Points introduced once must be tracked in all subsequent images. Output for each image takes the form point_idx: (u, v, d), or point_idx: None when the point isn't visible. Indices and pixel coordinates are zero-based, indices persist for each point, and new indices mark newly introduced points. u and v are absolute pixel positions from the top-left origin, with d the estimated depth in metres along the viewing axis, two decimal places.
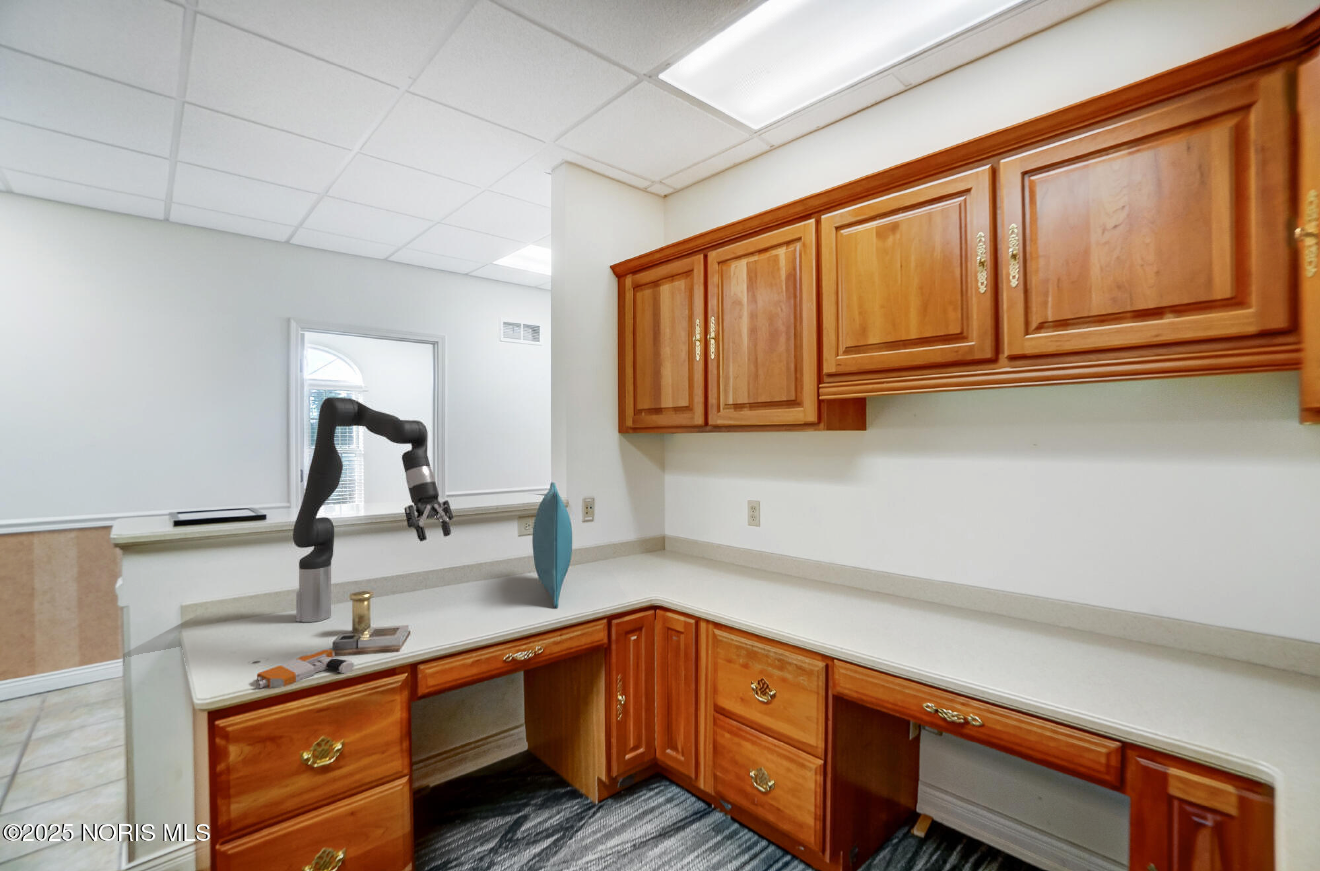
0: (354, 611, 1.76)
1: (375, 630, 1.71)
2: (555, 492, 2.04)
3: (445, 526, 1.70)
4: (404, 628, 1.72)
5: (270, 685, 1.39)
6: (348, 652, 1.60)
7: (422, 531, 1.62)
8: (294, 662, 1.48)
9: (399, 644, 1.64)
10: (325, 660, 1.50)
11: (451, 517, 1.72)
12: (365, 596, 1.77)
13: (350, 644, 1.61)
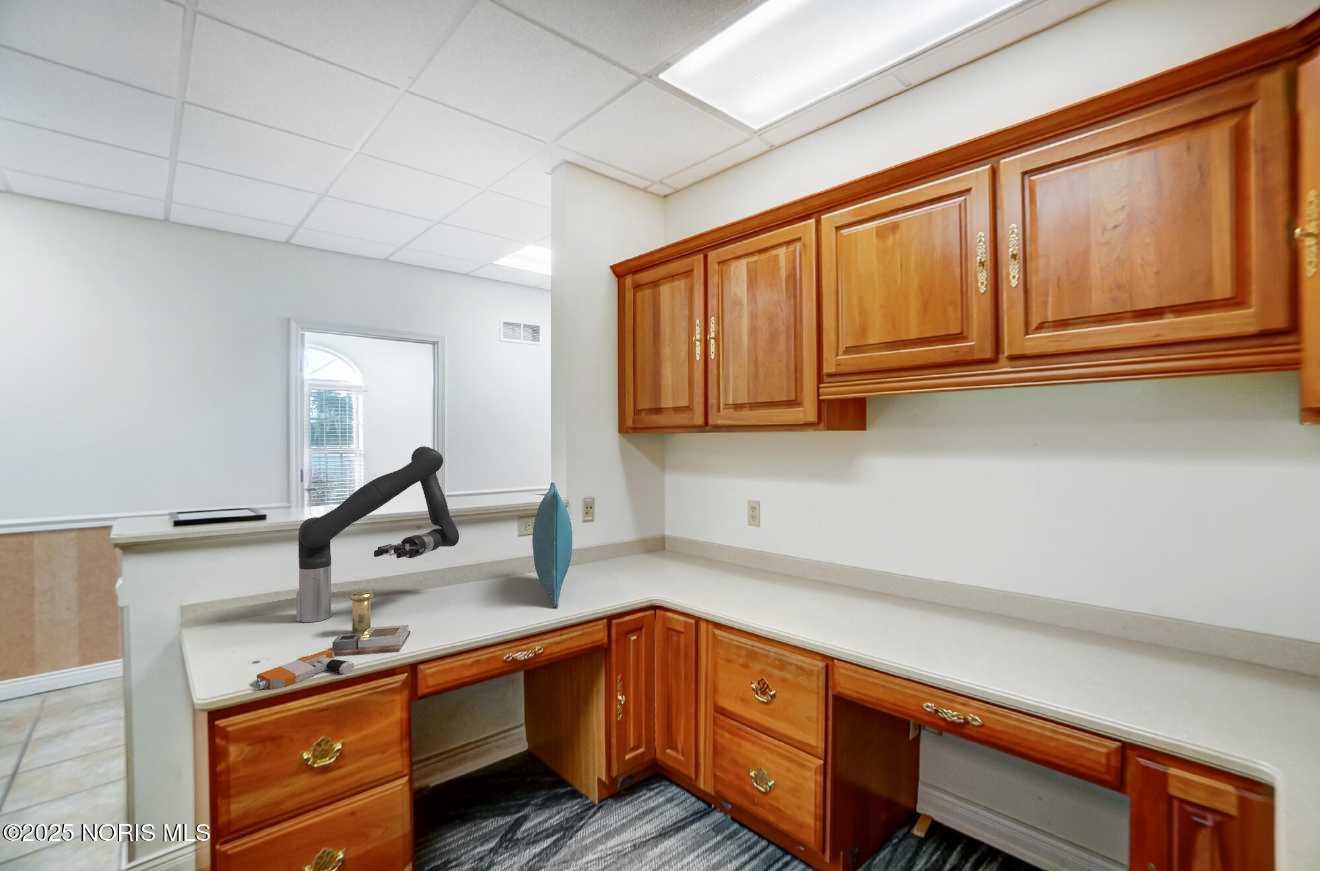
0: (354, 611, 1.76)
1: (375, 630, 1.71)
2: (555, 492, 2.04)
3: (381, 553, 1.93)
4: (404, 628, 1.72)
5: (270, 686, 1.39)
6: (348, 652, 1.60)
7: (403, 556, 1.91)
8: (294, 663, 1.47)
9: (399, 644, 1.64)
10: (325, 661, 1.50)
11: None
12: (365, 596, 1.77)
13: (350, 644, 1.61)
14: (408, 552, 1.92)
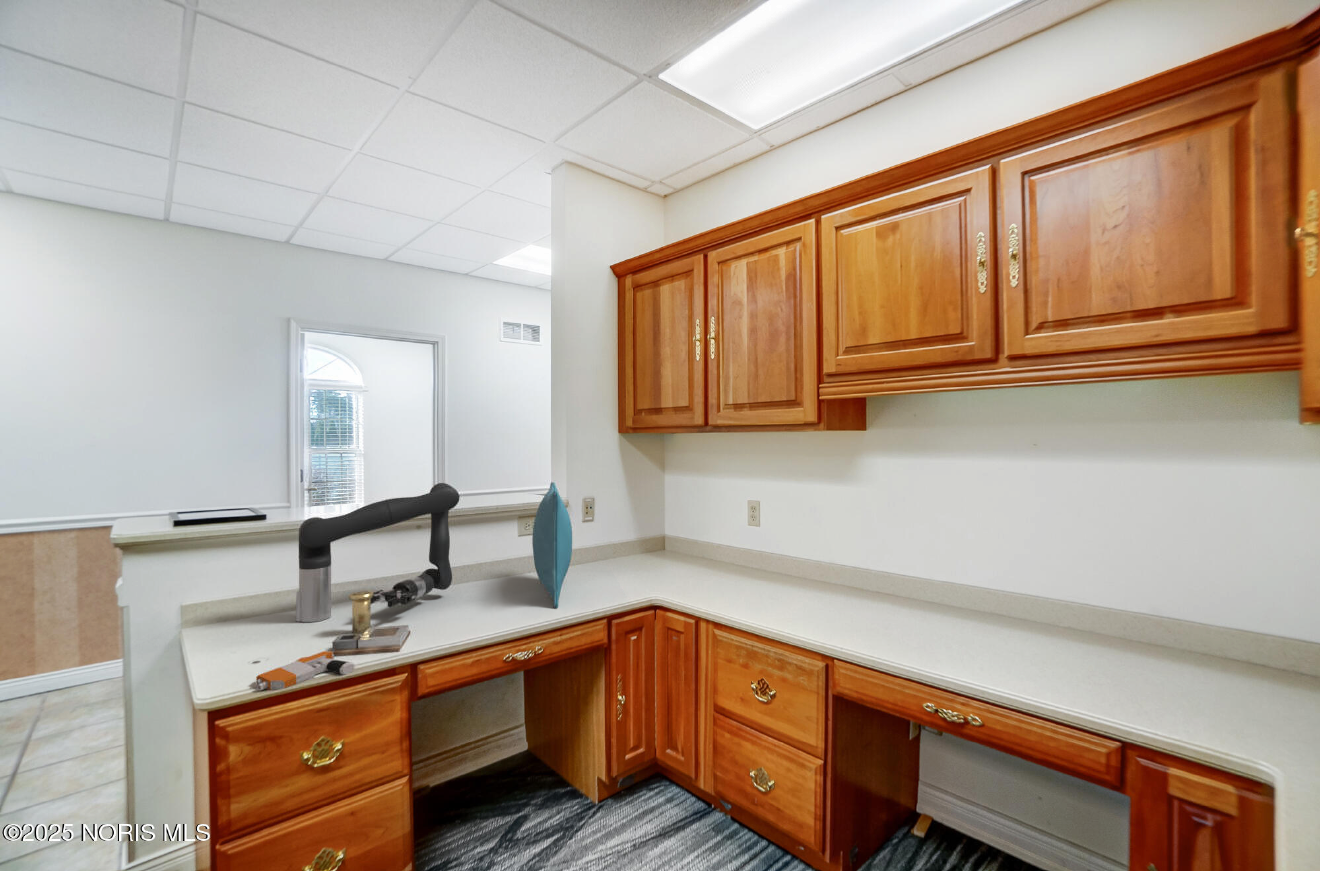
0: (354, 611, 1.76)
1: (375, 630, 1.71)
2: (555, 492, 2.04)
3: (372, 601, 1.89)
4: (404, 628, 1.72)
5: (270, 687, 1.38)
6: (348, 652, 1.60)
7: (394, 604, 1.87)
8: (294, 664, 1.47)
9: (399, 644, 1.64)
10: (325, 661, 1.50)
11: None
12: (365, 596, 1.77)
13: (350, 644, 1.61)
14: (399, 600, 1.88)
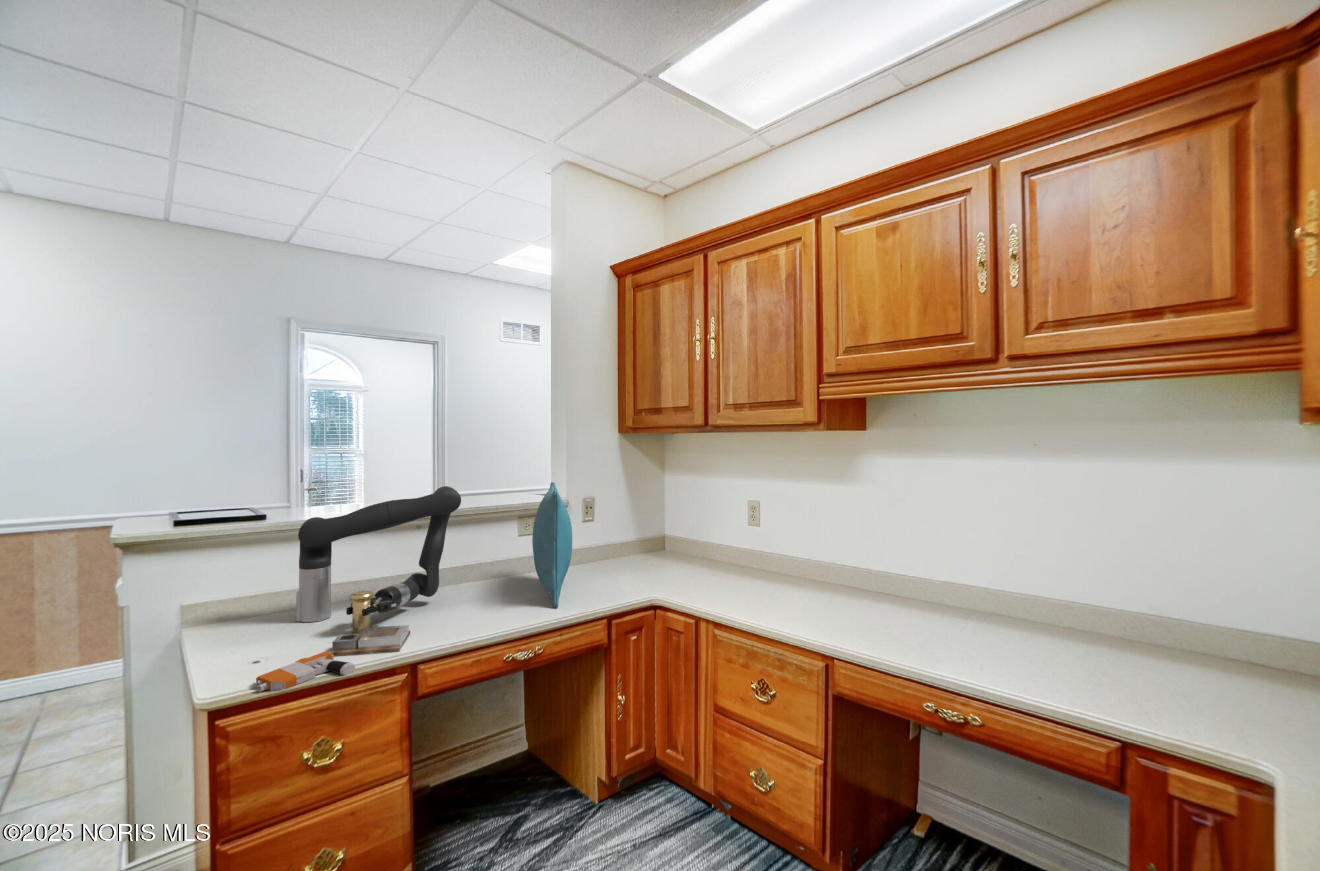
0: (354, 611, 1.76)
1: (375, 630, 1.71)
2: (555, 492, 2.04)
3: None
4: (404, 628, 1.72)
5: (271, 688, 1.38)
6: (348, 652, 1.60)
7: (369, 613, 1.78)
8: (293, 665, 1.46)
9: (399, 644, 1.64)
10: (325, 662, 1.49)
11: None
12: (365, 596, 1.76)
13: (350, 644, 1.61)
14: (374, 609, 1.79)
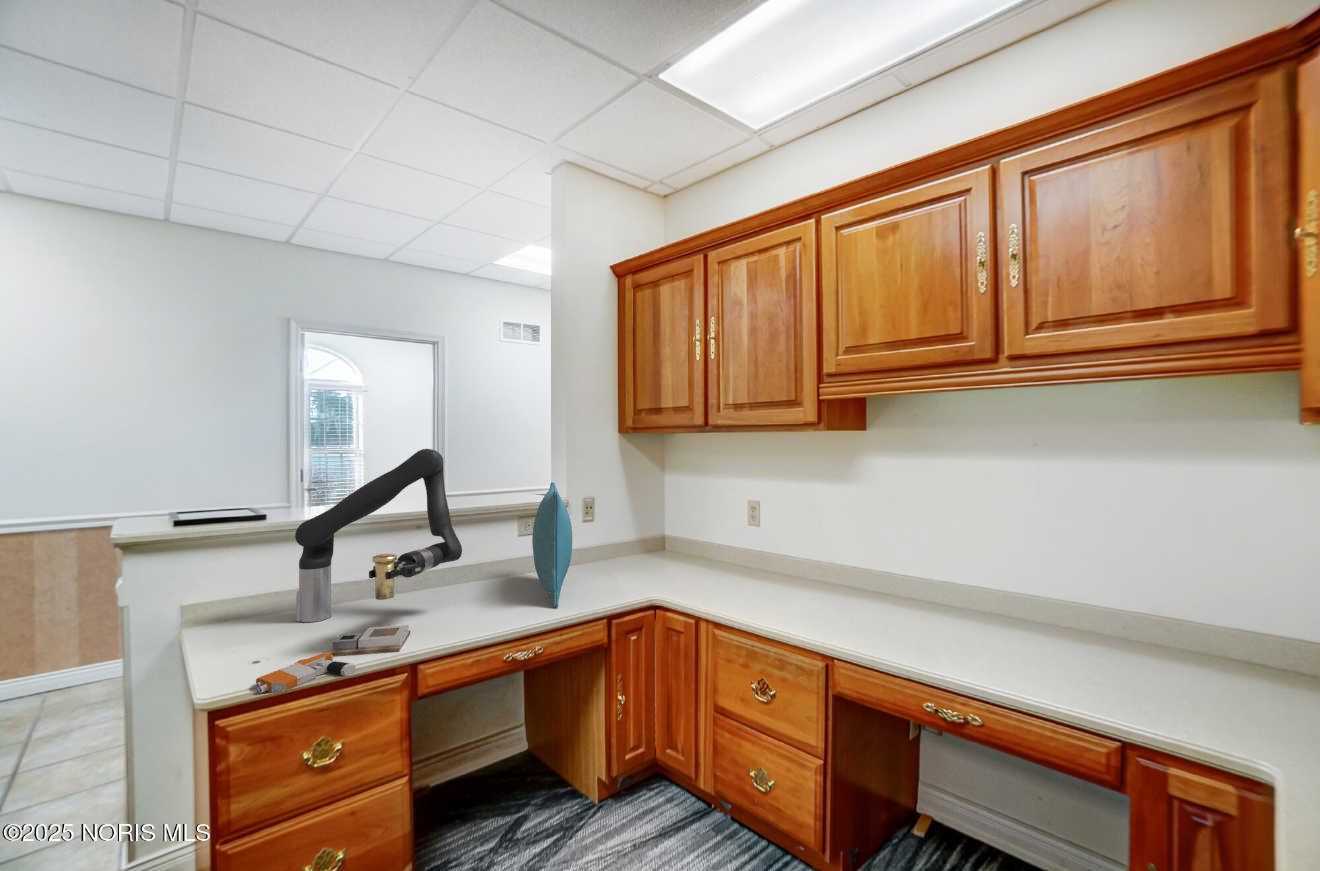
0: (377, 574, 1.66)
1: (375, 630, 1.71)
2: (555, 492, 2.04)
3: None
4: (404, 628, 1.72)
5: (271, 689, 1.37)
6: (348, 652, 1.60)
7: (393, 577, 1.68)
8: (293, 666, 1.46)
9: (399, 644, 1.64)
10: (325, 663, 1.49)
11: None
12: (389, 558, 1.66)
13: (350, 644, 1.61)
14: (398, 572, 1.69)
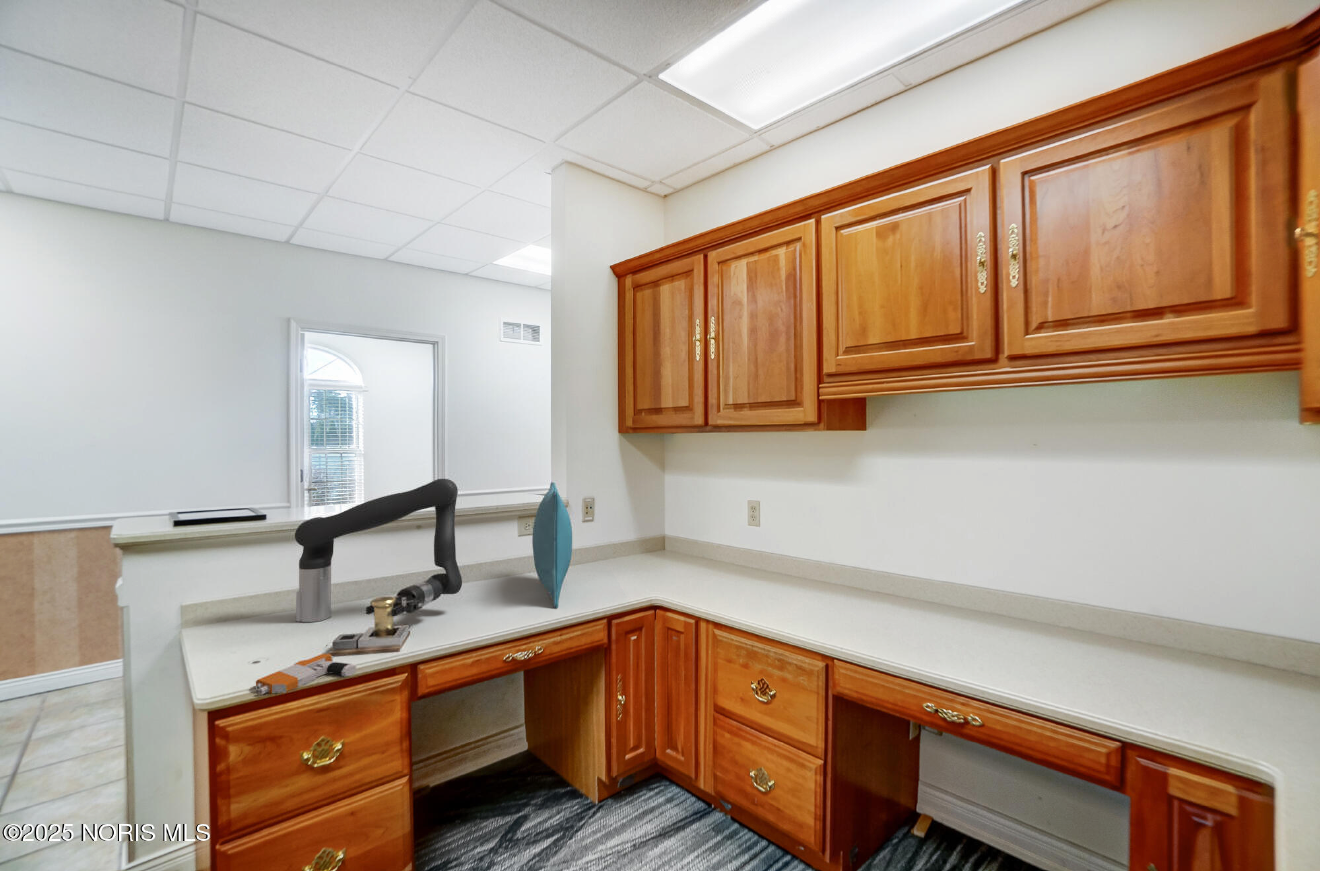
0: (376, 618, 1.66)
1: None
2: (555, 492, 2.04)
3: None
4: (404, 628, 1.72)
5: (272, 691, 1.36)
6: (348, 652, 1.60)
7: (399, 613, 1.68)
8: (293, 667, 1.45)
9: (399, 644, 1.64)
10: (325, 664, 1.48)
11: None
12: (388, 602, 1.66)
13: (350, 644, 1.61)
14: (405, 608, 1.69)
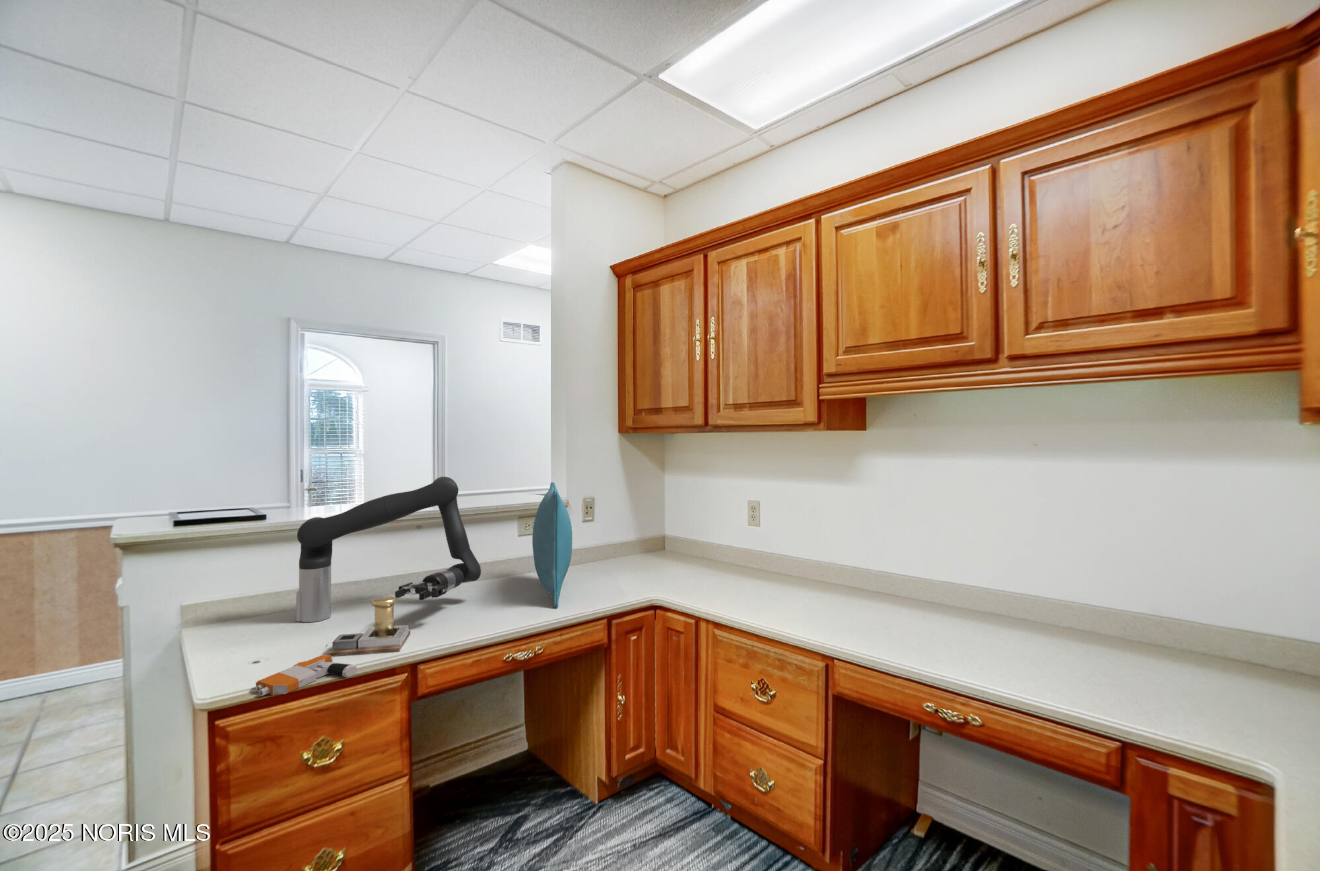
0: (377, 618, 1.66)
1: None
2: (555, 492, 2.04)
3: (402, 594, 1.83)
4: (404, 628, 1.72)
5: (273, 692, 1.35)
6: (348, 652, 1.60)
7: (425, 597, 1.81)
8: (293, 668, 1.44)
9: (399, 644, 1.64)
10: (325, 665, 1.47)
11: None
12: (388, 602, 1.67)
13: (350, 644, 1.61)
14: (431, 593, 1.82)
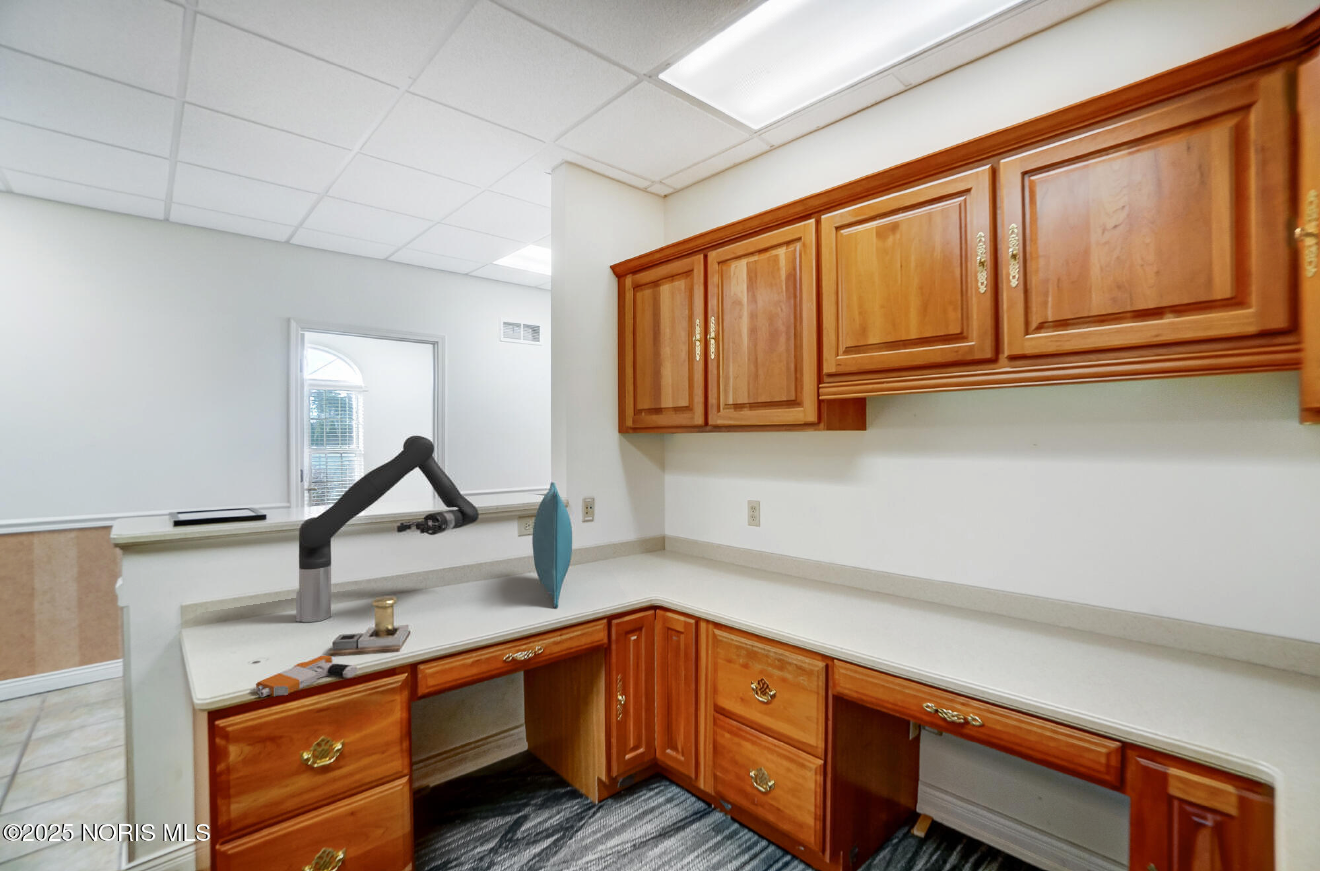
0: (377, 618, 1.66)
1: None
2: (555, 492, 2.04)
3: (404, 529, 1.93)
4: (404, 628, 1.72)
5: (274, 693, 1.35)
6: (348, 652, 1.60)
7: (426, 531, 1.91)
8: (293, 669, 1.44)
9: (399, 644, 1.64)
10: (326, 666, 1.47)
11: None
12: (389, 602, 1.66)
13: (350, 644, 1.61)
14: (431, 528, 1.92)
